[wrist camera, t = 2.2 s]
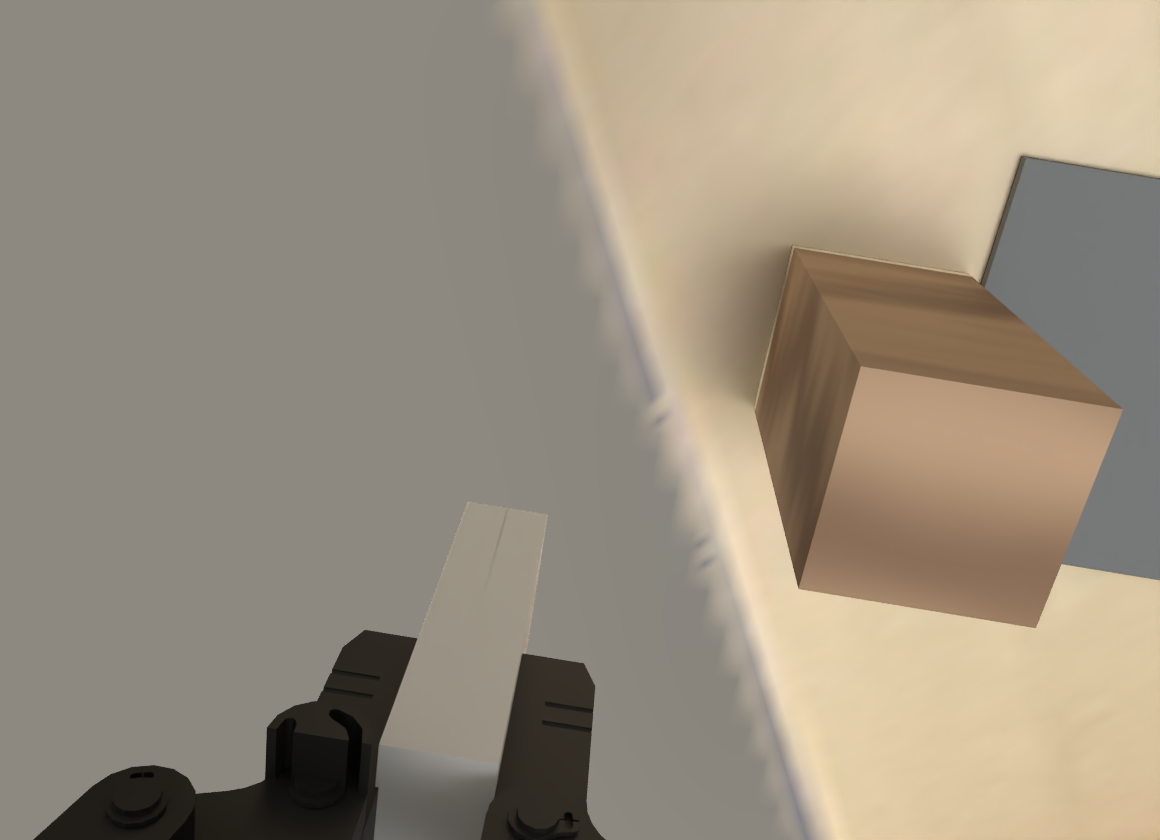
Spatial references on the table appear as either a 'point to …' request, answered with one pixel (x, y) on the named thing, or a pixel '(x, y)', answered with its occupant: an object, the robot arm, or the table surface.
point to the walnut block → (923, 439)
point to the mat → (1095, 331)
